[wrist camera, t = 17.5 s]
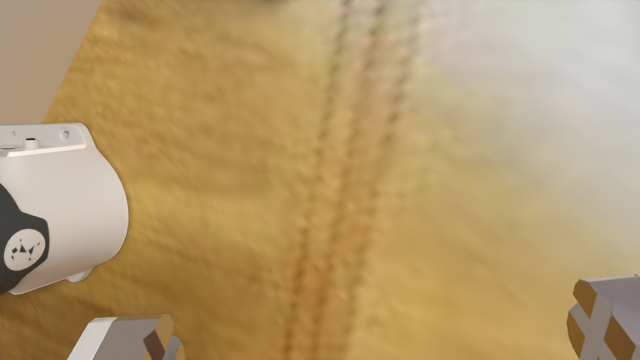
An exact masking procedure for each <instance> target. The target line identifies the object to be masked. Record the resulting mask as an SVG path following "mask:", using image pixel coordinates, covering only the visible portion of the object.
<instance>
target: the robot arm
mask: <svg viewBox="0 0 640 360" xmlns="http://www.w3.org/2000/svg"><path fill="white" fill-rule="evenodd" d="M127 229H128V205H127V200H126V195H125V192H124V189H123V186H122V184H121V182H120V180H119V178H118V176H117V174H116V172H115V171H114V169H113V168H112V166H111V165H110V164H109V162H108V161H107V160H106V159H105V158H104V157H103V156H102V155H101V154H100V152H99V151H98V150H97V148H96V147H95V144H94V142H93V140H92V137H91V135H90V133H89V131H88V129H87V128H86V127H85V125H83V124H82V123H78V122H75V123H38V124H2V125H0V295H1V294H3V293H6V292H10V293H12V294H15V295H17V294H23V293H26V292H29V291H31V290H34V289H37V288H40V287H43V286H46V285H49V284H52V283H55V282H58V281H60V280H63V279H67V280H68V281H70V282H73V283H76V282H79V281H82V280H84V279H85V278H86V277H87V276H88V275H89V273H90V272H91V271H92V269H93V268H94V267H95V266H97V265H100V264H102V263H104V262H107V261H108V260H110V259H111V258H112V257H114V256H115V255H116V254H117V252H118V251H119V250H120V248H121V246H122V245H123V242H124V240H125V237H126V234H127ZM573 295H574V297H575V298H576V300H577V301H578V303H577V304H575V305H574V306H573V307H572V308H571V309H570V310H569V313H568V318H567V328H568V335H569V339H570V341H571V344H572V347H573V349H574V350H575V352H576V354H577V356H578V358H579V359H580V360H640V274H634V275H619V276H608V277H598V278H587V279H579V281H578V282H577V283H576V284H575V287H574V291H573ZM174 327H175V325H174V323H173V320H172V318H171V316H170V315H169V314H150V315H132V316H119V317H105V318H95V319H94V320H92V321H91V322H90V323H88V325H87V326H86V328H85V330H84V332H83V333H82V335H81V337H80V338H79V340H78V342H77V343H76V345H75V347H74V349H73V350H72V352H71V354H70V355H69V357H68V359H67V360H186V357H185V350H184V347H183V344H182V342H181V340H179V339H178V338H177V337H175V336H174V335H172V333H173V330H174Z"/></svg>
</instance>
